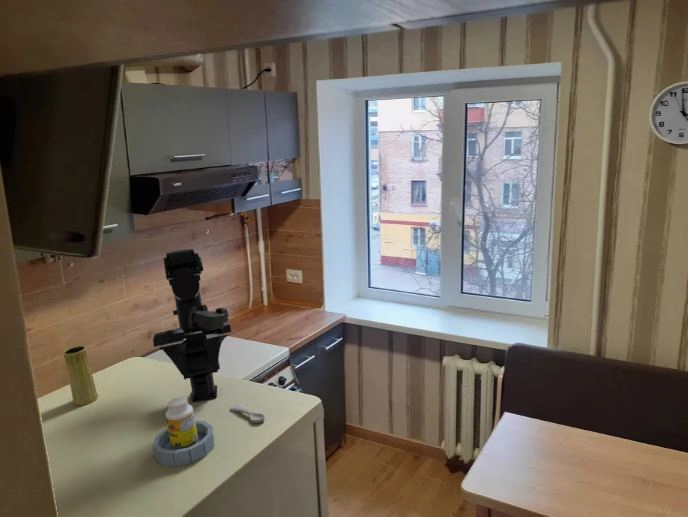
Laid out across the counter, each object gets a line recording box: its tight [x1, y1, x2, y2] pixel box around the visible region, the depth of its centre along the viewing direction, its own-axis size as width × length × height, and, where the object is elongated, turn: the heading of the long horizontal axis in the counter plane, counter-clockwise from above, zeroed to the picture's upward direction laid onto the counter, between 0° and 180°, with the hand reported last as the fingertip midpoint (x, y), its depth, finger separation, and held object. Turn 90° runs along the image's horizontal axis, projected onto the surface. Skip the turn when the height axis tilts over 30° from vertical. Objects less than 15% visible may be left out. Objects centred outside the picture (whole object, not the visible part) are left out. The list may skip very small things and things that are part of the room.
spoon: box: [229, 405, 266, 424], centre depth 122 cm, size 3×12×2 cm, turn 47°
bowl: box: [152, 420, 216, 467], centre depth 110 cm, size 12×12×3 cm
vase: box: [62, 345, 99, 406], centre depth 136 cm, size 6×6×14 cm
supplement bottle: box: [165, 396, 198, 450], centre depth 110 cm, size 6×6×10 cm
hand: (200, 371), depth 118 cm, fingers open, 9 cm apart
